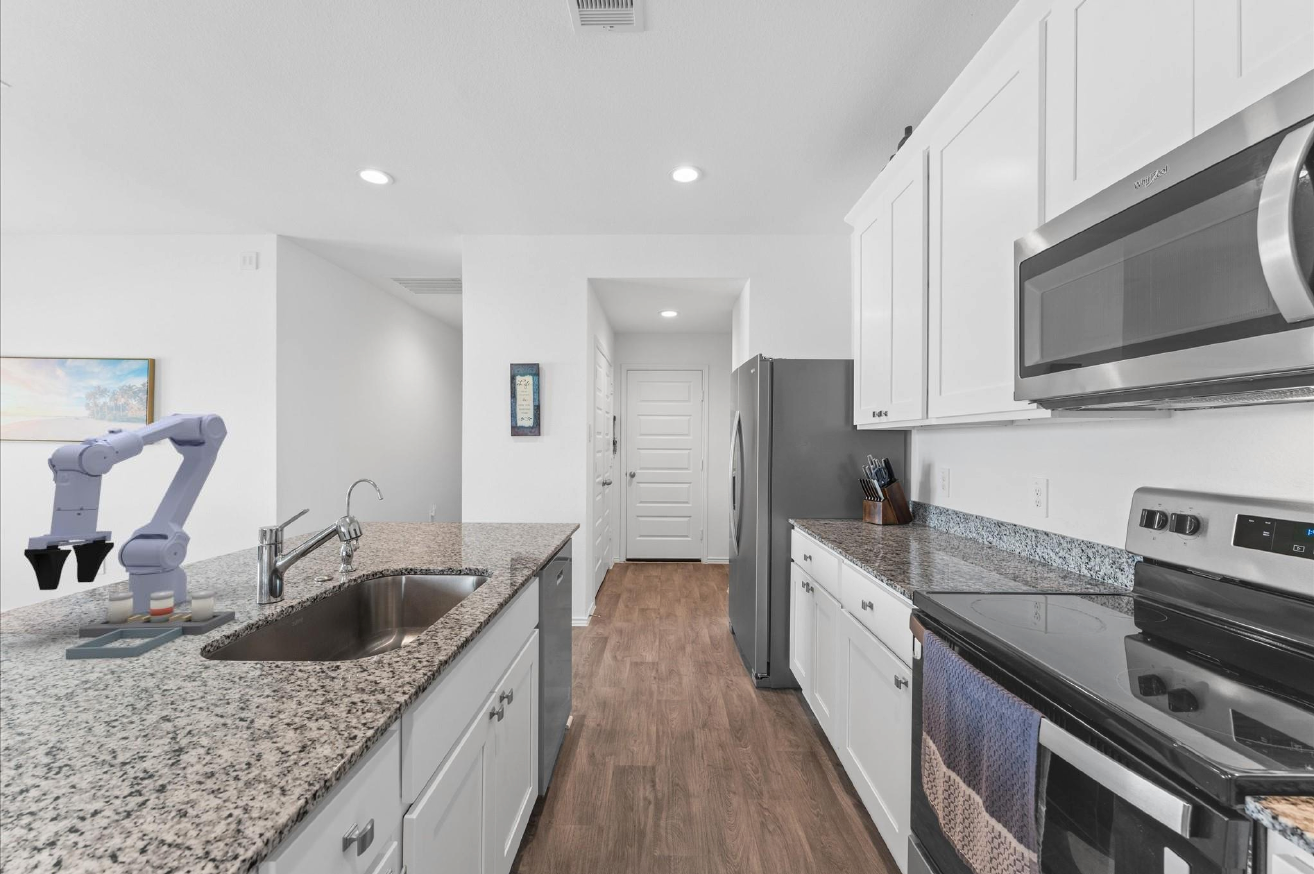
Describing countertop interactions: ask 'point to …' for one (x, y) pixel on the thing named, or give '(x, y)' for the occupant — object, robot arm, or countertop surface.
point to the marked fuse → (161, 606)
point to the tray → (96, 651)
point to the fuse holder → (160, 624)
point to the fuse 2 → (202, 606)
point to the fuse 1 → (120, 607)
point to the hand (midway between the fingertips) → (67, 585)
